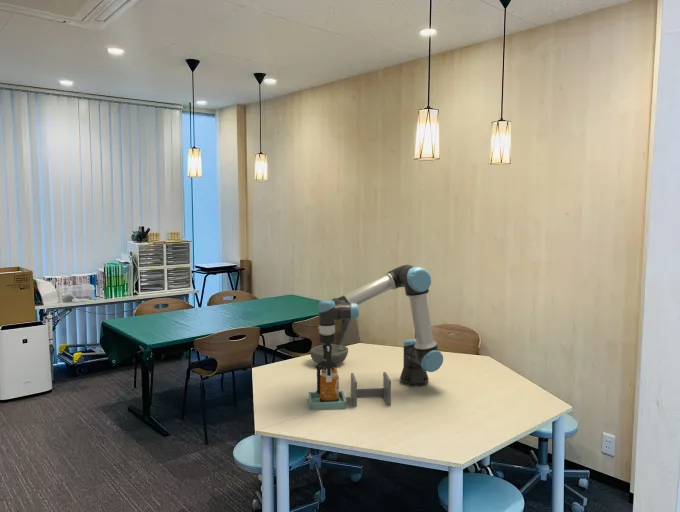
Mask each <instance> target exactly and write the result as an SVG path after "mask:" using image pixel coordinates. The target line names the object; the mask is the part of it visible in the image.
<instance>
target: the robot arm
mask: <svg viewBox="0 0 680 512" xmlns="http://www.w3.org/2000/svg"><path fill="white" fill-rule="evenodd" d="M431 285H432V277H431V275H430V272H429V271H428V270H427V269H425V268H423V267H421V266H415V265H410V264H403V265H400V266H397V267H395V268H393V269H391V270H389V271H386V272H385V273H384V275H383V276H381V277H379V278H377V279H375V280H372V281H371V282H369V283H367V284H364V285H363V286H360V287H358V288H355V290H352V291H350V292H348V293H346V294H344V295H341V296H340V297H331V298H330V299H329V300H328V299H325V300H323V299H322V300H320V301H319V302H318V311H317V312H318V327H317V329H318V333H319V334H318V341H319V342H320V343H321V344H322V345H323V351H324V354H323V356H324V359H325V361H326V367H325V369H326V382H332V359H331V354H332V351H331V350H332V346H331V345H330V344H332V343H334V342H336V323H335V322H336V321H342V320H353V319H357V318H358V317H359V315H360V306H359V305H361V304H362V303H365V302H367V301H369V300H371V299H373V298H376V297H377V296H379V295H382V294H383V293H386V292H387V291H389V290H393V291H394V290H397V289H398V288H399V289H400V288H404V292H405V296H406V297H408V298H409V304H410V310H411V316H412V321H413V328H414V334H415V338H409V339H405V340H404V342H403V368H402V370H401V374H400V376H399V382H400V383H401V384H402V385H406V386H409V387H410V386H411V387H421V386H422V387H423V386H425V385H428V384H429V375H428V373H434V372H436V371H438V370H440V368H441V366H443V364H444V355H443V354H442V353H441V351H440V350H439V349H438V343H437V341H435V339H434V336H433V329H432V323H431V322H432V321H431V316H430V310H429V309H430V308H429V304H428V298H427V295H428V294H429V292H430V291H429V288H430V286H431ZM328 365H330V366H328ZM427 372H428V373H427Z"/></svg>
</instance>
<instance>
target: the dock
mask: <svg viewBox="0 0 680 512" xmlns="http://www.w3.org/2000/svg"><path fill="white" fill-rule="evenodd" d="M382 377H383V378H382V383H383V384H382V386H383V387H374V388H372V387H370V388H358V381H357V379H356V376H355V374H354V372H351V373H350V399H351V401H352V404H353V407H354V408H357V407H358V406H357V405H358V398H379V397H383V398H384V400H385V403H386V404H387V406H390V407H391V405H392V380H391V379H390V377H389V375H388V374H387V372H385V371H383V373H382Z"/></svg>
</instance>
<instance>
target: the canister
mask: <svg viewBox="0 0 680 512" xmlns="http://www.w3.org/2000/svg"><path fill="white" fill-rule="evenodd" d="M337 364H338V363H335V361H333V362H332V382H326V369H325V367H326V361H325V360H324V361H322V362H320V363H319V364H317V363H316V364H315V368H316V369H315V370H316V391H315V392H317V393H318V394H320V402H338V401H339V391H340V389H339V387H340V386H339V385H340V377H339V372H338V369H337V368H336V366H338V365H339V364H338V365H337ZM328 366H330V365H328Z"/></svg>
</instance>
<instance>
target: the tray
mask: <svg viewBox="0 0 680 512" xmlns="http://www.w3.org/2000/svg"><path fill="white" fill-rule="evenodd" d="M308 405H309V410H310V411H317V410H318V411H319V410H322V411H323V410H340V409H341V410H342V409H344V410H345V409H347V408H348V407H347V399H346V396H345V392H344V390H339V401H338V402H320V394H318V393H317V392H316V391H308Z"/></svg>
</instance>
